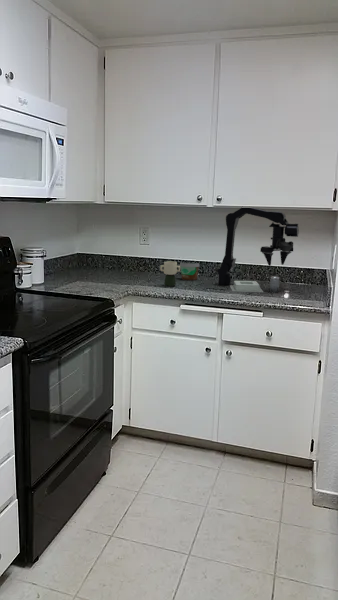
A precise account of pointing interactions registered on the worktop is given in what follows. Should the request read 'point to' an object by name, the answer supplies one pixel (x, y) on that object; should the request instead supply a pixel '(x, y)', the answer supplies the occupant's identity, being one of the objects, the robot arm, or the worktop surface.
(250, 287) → the dock
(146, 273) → the worktop surface
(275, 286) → the spigot
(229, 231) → the robot arm
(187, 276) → the food container
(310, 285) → the worktop surface
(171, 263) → the character mug
